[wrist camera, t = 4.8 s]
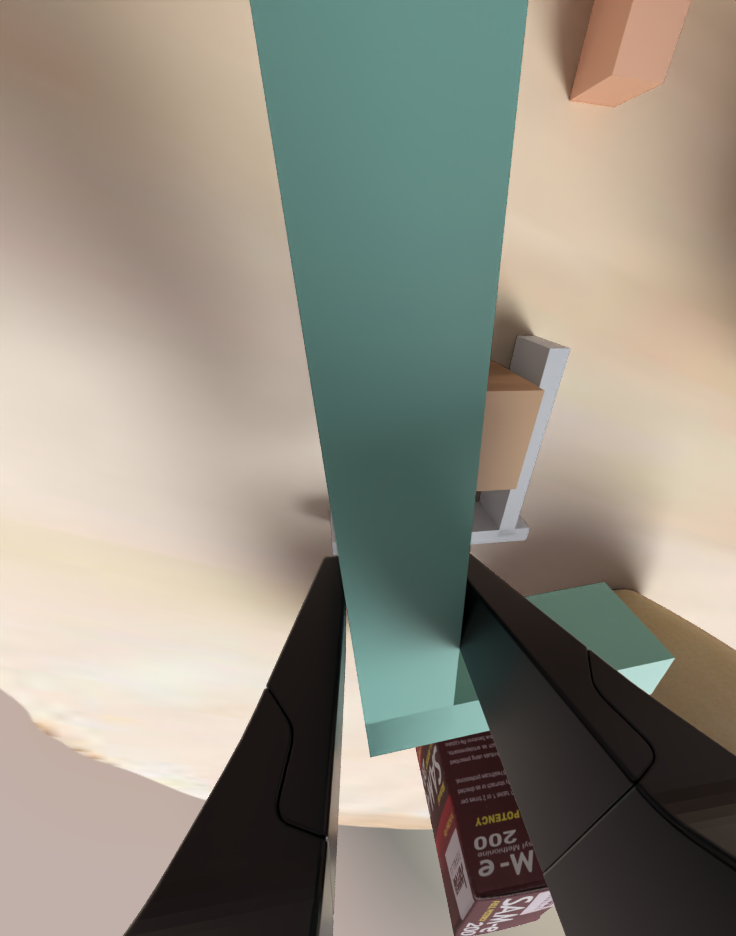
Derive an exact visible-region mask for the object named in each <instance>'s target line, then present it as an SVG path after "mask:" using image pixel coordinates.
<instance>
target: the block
mask: <svg viewBox="0 0 736 936" xmlns="http://www.w3.org/2000/svg"><path fill="white" fill-rule="evenodd" d="M544 391H545V390H543V389H541V388H540V387H538V386H536V385H534V384H533V383H531V382H529V381H528V380H526V379H524V378H522V377H521V376H519V375H517V374H515V373H514V372H512V371H510V370H509V369H507V368H505V367H503V366H502V365H500V364H498V363H496V362H495V361H490V365H489V375H488V384H487V394H486V403H485V412H484V422H483V431H482V441H481V450H480V460H479V469H478V478H477V488H476V491H492V490H510V489H516V487H517V484H518V481H519V477H520V474H521V470H522V467H523V463H524V460H525V456H526V453H527V450H528V446H529V443H530V439H531V436H532V432H533V429H534V425H535V422H536V419H537V415H538V412H539V408H540V405H541V401H542V398H543V394H544Z"/></svg>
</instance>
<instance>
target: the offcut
mask: <svg viewBox="0 0 736 936" xmlns="http://www.w3.org/2000/svg"><path fill="white" fill-rule="evenodd" d="M690 3H691V0H594V3H593V7H592V11H591V15H590V19H589V23H588V27H587V31H586V35H585V39H584V44H583V48H582V52H581V56H580V60H579V64H578V68H577V72H576V76H575V80H574V84H573V88H572V92H571V96H570V100H569V101H573V102H580V103H587V104H594V105H601V106H608V107H616V106H618V105H620V104H622V103H624V102H626V101H628V100H630V99H632V98H634V97H636V96H638V95H640V94H642V93H644V92H646V91H648V90H650V89H652V88H654V87H656V86H659V85H661V84H663V83H664V80H665V77H666V74H667V71H668V68H669V65H670V62H671V59H672V56H673V53H674V50H675V47H676V44H677V41H678V39H679V36H680V33H681V30H682V27H683V24H684V21H685V18H686V15H687V12H688V9H689V6H690Z"/></svg>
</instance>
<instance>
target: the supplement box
mask: <svg viewBox="0 0 736 936" xmlns="http://www.w3.org/2000/svg"><path fill="white" fill-rule="evenodd" d="M416 752H417V757H418V762H419V766H420V771H421V776H422V780H423V785H424V789H425V794H426V799H427V804H428V809H429V814H430V819H431V824H432V828H433V833H434V838H435V843H436V848H437V853H438V858H439V862H440V868H441V873H442V878H443V883H444V887H445V892H446V897H447V902H448V907H449V912H450V917H451V923H452V928H453V933H454V936H473V935H479V934H485V933H489V932H494V931H499V930H503V929H507V928H511V927H514V926H518V925H522V924H525V923H529V922H532V921H536V920H538V919H539V918H540V915H542V914H543V913H544V912H545V911H547V910H548V909H550V908H551V907H552V906H553V905H554V902H553V900H552V897H551V894H550V892H549V889H548V886H547V884H546V881H545V878H544V875H543V874H544V872H543V871H542V870H541V867H540V864H539V861H538V859H537V856H536V853H535V851H534V848H533V845H532V843H531V840H530V837H529V835H528V832H527V829H526V827H525V824H524V821H523V818H522V816H521V813H520V810H519V808H518V805H517V802H516V800H515V797H514V794H513V792H512V789H511V786H510V783H509V781H508V778H507V775H506V773H505V770H504V767H503V765H502V762H501V759H500V757H499V754H498V751H497V749H496V746H495V743H494V740H493V738H492V735H491V732H490V731H485V732H481V733H476V734H472V735H467V736H463V737H458V738H454V739H450V740H445V741H441V742H436V743H432V744H427V745H423V746H418V747H416Z"/></svg>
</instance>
